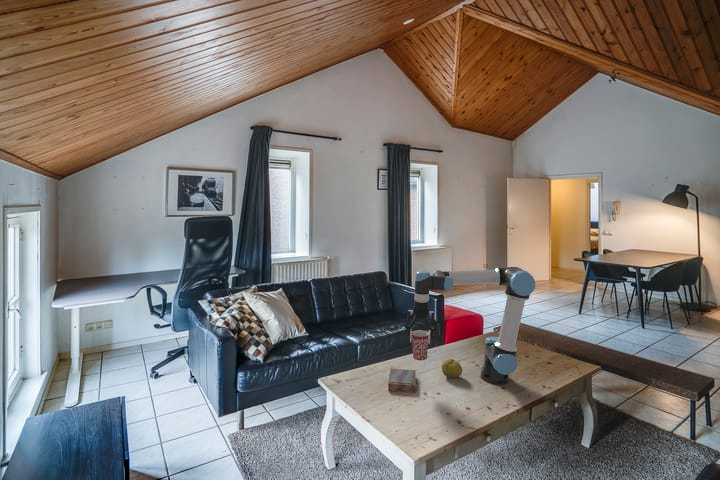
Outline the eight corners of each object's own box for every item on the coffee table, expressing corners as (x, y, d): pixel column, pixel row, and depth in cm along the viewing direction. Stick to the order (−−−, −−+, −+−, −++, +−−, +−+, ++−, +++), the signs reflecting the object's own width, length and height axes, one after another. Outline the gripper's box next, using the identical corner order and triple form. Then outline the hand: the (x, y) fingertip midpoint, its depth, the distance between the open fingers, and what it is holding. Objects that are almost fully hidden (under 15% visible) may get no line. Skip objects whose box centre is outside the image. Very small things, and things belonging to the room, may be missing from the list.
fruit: (445, 382, 210) (446, 365, 209) (438, 373, 222) (438, 356, 220) (465, 381, 212) (465, 364, 211) (456, 372, 223) (457, 355, 222)
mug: (431, 360, 199) (431, 335, 198) (414, 362, 198) (414, 336, 197) (423, 351, 212) (423, 327, 210) (407, 352, 211) (407, 328, 209)
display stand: (415, 377, 217) (415, 369, 216) (415, 392, 199) (415, 384, 198) (390, 375, 219) (390, 367, 218) (388, 390, 201) (388, 382, 200)
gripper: (442, 300, 204) (440, 341, 206) (401, 297, 207) (399, 338, 209) (443, 303, 196) (441, 346, 199) (400, 301, 199) (399, 343, 202)
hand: (419, 342), depth 204 cm, fingers closed on mug, 9 cm apart
